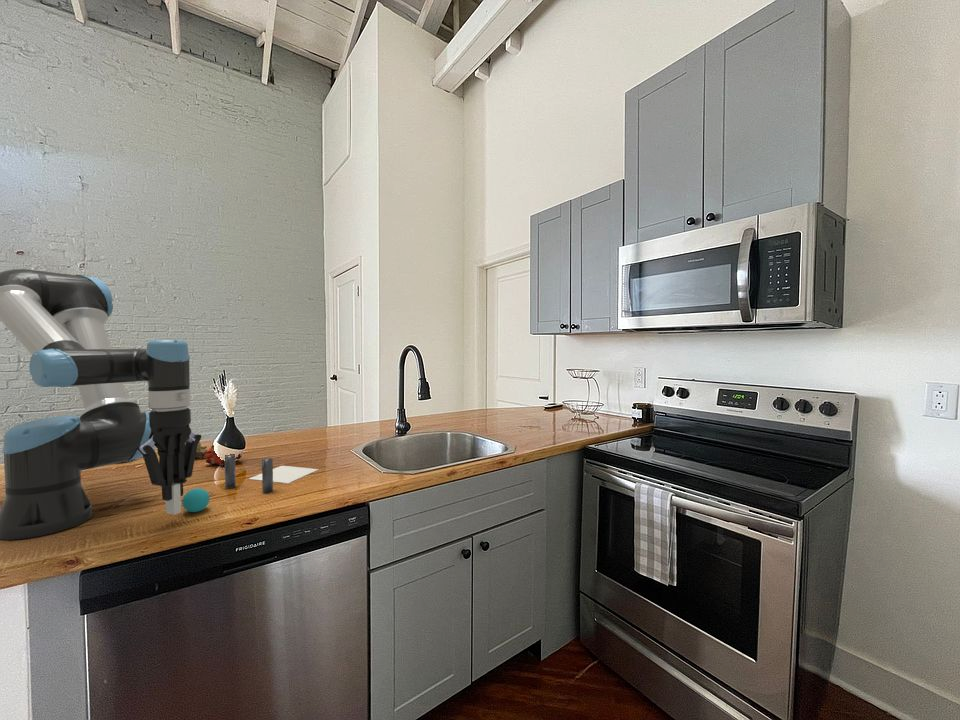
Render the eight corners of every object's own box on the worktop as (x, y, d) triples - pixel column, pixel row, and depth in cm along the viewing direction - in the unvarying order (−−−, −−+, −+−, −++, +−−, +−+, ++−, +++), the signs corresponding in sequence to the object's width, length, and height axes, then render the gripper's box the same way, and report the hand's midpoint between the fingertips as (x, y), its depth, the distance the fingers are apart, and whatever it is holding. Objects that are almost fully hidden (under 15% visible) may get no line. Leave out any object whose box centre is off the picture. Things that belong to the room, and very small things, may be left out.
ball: (194, 517, 99) (194, 493, 98) (176, 514, 100) (176, 491, 100) (215, 508, 104) (214, 486, 104) (197, 506, 105) (197, 484, 105)
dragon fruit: (246, 467, 143) (204, 477, 138) (244, 448, 149) (205, 457, 144) (241, 451, 138) (197, 460, 133) (240, 432, 144) (198, 440, 139)
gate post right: (268, 493, 114) (267, 460, 114) (260, 492, 115) (259, 459, 114) (275, 490, 117) (274, 458, 116) (267, 489, 117) (266, 457, 117)
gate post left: (230, 489, 117) (229, 457, 117) (222, 488, 118) (222, 456, 118) (238, 486, 120) (237, 454, 120) (230, 485, 121) (230, 454, 120)
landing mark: (287, 483, 122) (287, 483, 122) (248, 479, 126) (248, 478, 126) (318, 469, 136) (318, 469, 136) (281, 466, 139) (281, 465, 139)
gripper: (151, 413, 88) (155, 526, 88) (209, 405, 100) (212, 504, 101) (126, 412, 90) (130, 521, 91) (186, 404, 102) (189, 500, 103)
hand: (173, 512), depth 96 cm, fingers closed
